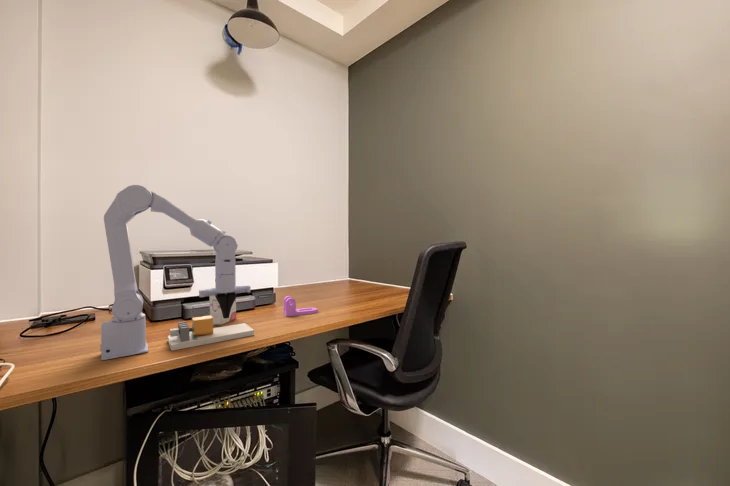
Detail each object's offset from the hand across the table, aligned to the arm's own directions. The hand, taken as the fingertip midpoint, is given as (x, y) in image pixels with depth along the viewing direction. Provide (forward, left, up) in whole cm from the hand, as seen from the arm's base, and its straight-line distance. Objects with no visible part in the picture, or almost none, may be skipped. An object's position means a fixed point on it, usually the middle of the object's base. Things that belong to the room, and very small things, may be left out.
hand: (225, 317), depth 96 cm
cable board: (-4, 0, -6) cm, 7 cm away
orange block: (-6, 0, -4) cm, 7 cm away
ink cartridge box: (+3, +18, -6) cm, 19 cm away
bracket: (+31, +12, -6) cm, 34 cm away
